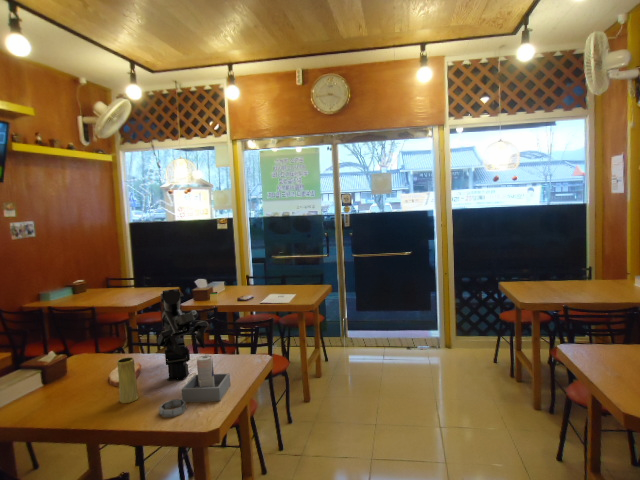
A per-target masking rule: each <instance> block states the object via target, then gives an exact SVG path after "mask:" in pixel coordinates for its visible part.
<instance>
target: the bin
mask: <svg viewBox="0 0 640 480" xmlns="http://www.w3.org/2000/svg"><path fill="white" fill-rule="evenodd" d="M214 384H215V387H208V388H199V382H198V373H197V374H194V375H193V376H192V377H191V378H190V379H189V381H187V383H186V384H185V385H184V386H183V387H182V388H181V389H180V390H181V399H182V400H184V401H185V402H186V403H198V402H199V403H200V402H201V403H202V402H204V403H206V402H221V401H222V399H223V397H224V396H225V394H226V393H227V391H228V390H229V388H230V387H231V385H232V384H231V373H230V372H228V373H226V372H225V373H214Z"/></svg>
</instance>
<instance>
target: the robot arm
mask: <svg viewBox="0 0 640 480" xmlns="http://www.w3.org/2000/svg"><path fill="white" fill-rule="evenodd" d="M160 298H161V299H160V301H161V304H163V306H164V308H163V312H162V313H161V317H162V318H161V320H162V327H163V328H164V330H163V331H160V333H159V336H158V337H157V345H158V346H159V347H161V346H162V347H165V348H166V349H164V357H165V359H164V360H165V366H167V367H168V369H167V370H168V378H167V381H183V380H185V378H186V377H188V375H190V372H189V363H188V362H189V361H190V360H191V356H190V354H191V353H190V348H189V347H188V345H186V342H185V340H184V338H183V337H181V336H184V335H188V334H192V333H193V335H194V336H195V337H194V338H195V340H196V341H197V342H198V343H199V345H200V346H201V348H202V349H203V350H204V349H205V348H206V344H205V343H206V341H205V333H206V331H207V330H208V328H209V326H210V324H209V323H208V321H207V320H201V321H197V322H196V323H195V325H194V326H192V324H193V323H192V322H194V321H195V320H196V319H197V318H198V317H199V314H198V311H196V309H194V310H190V311H189V312H187V313H184V312H183V311H182V310H181V301H183V299H184V293H182V291H180V289H179V288H174V289H166V290H162V293H160ZM191 326H192V327H191Z"/></svg>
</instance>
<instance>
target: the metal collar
mask: <svg viewBox="0 0 640 480" xmlns="http://www.w3.org/2000/svg"><path fill="white" fill-rule="evenodd" d="M174 407H175V408H174ZM187 407H188V406H187V402H185V401H184V400H182V398H180V399H171V400H168V401H164V402H163V403H162V404H161V405H160V406H159V407H158V410H159V415H160V416H161V417H163V418H174V417H177V416H180V415H182V414H184V413H185V412H186V410H187ZM171 408H172V409H171Z"/></svg>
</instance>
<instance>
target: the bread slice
mask: <svg viewBox="0 0 640 480" xmlns="http://www.w3.org/2000/svg"><path fill="white" fill-rule="evenodd" d="M134 366H135V374H136V379H137V380H138V378H139V376H140V374H141V372H142V364H141V363H140V362H136V363H134ZM109 382H110V383H109ZM108 383H109V385H111V386H112V385H113V386H112V387H115V386H119V375H118V365H117V366H115V368H114V369H113V370H112V371H111V372H110V373H109V375H108Z"/></svg>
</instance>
